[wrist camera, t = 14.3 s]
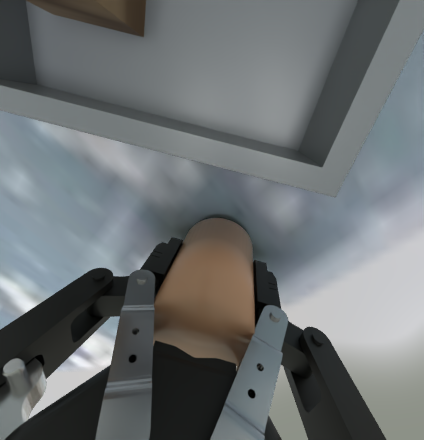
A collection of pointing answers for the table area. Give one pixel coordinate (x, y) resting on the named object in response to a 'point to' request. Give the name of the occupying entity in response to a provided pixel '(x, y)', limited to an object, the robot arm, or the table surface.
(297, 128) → the grey tote
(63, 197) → the table surface
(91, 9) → the walnut cube
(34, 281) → the table surface
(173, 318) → the tan cylinder
